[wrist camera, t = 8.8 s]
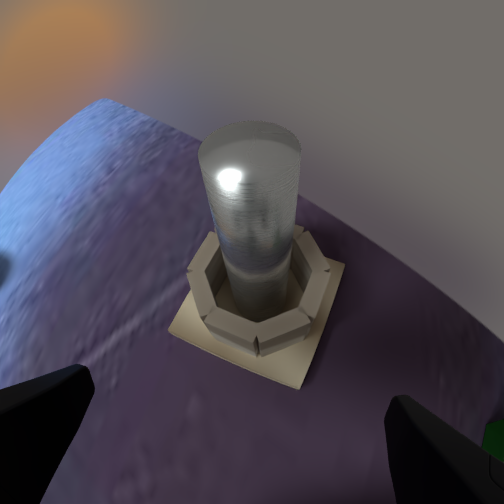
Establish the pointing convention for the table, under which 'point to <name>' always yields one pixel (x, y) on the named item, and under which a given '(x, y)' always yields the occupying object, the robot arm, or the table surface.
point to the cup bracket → (266, 332)
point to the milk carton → (494, 439)
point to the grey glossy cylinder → (253, 209)
